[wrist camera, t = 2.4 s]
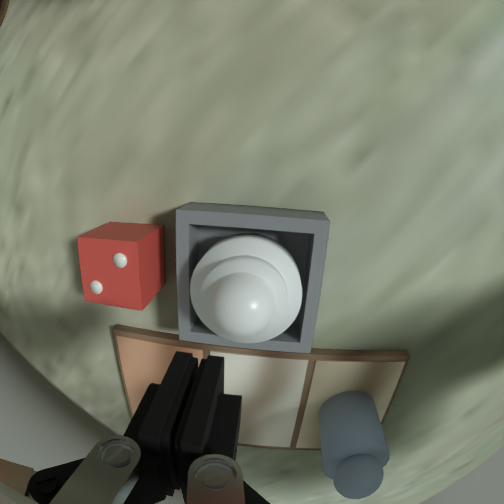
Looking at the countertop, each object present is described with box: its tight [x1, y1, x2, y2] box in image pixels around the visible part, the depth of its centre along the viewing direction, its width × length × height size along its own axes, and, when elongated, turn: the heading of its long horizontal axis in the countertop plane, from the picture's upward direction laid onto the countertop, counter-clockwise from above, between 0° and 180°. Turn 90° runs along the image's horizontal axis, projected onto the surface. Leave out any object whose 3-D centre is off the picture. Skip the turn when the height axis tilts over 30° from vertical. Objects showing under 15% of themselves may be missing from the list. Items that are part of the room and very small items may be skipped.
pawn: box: [319, 391, 389, 499], centre depth 20 cm, size 5×5×9 cm
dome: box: [190, 233, 302, 343], centre depth 17 cm, size 6×6×5 cm
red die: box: [77, 222, 165, 311], centre depth 20 cm, size 4×4×4 cm
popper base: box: [176, 202, 330, 353], centre depth 20 cm, size 9×9×3 cm
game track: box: [113, 324, 410, 450], centre depth 25 cm, size 24×12×1 cm, turn 87°
